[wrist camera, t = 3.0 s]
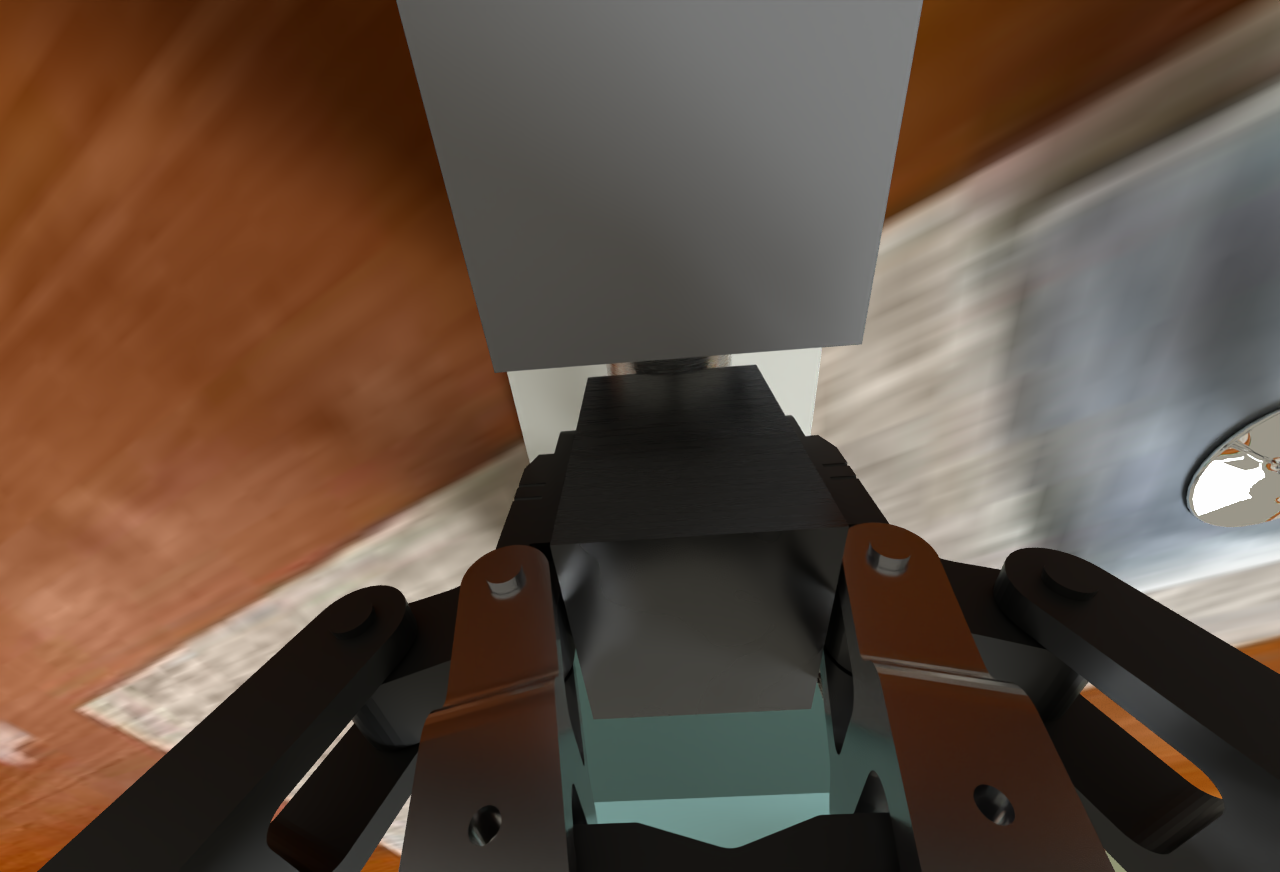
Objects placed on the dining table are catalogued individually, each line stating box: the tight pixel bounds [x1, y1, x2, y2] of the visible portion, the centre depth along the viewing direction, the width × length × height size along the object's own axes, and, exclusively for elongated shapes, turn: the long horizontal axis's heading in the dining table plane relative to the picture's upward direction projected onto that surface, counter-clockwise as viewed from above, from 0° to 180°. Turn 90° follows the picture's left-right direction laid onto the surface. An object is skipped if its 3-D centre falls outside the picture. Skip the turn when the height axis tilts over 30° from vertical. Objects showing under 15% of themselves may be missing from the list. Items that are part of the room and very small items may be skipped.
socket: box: [574, 649, 830, 848], centre depth 19 cm, size 5×9×10 cm, turn 95°
